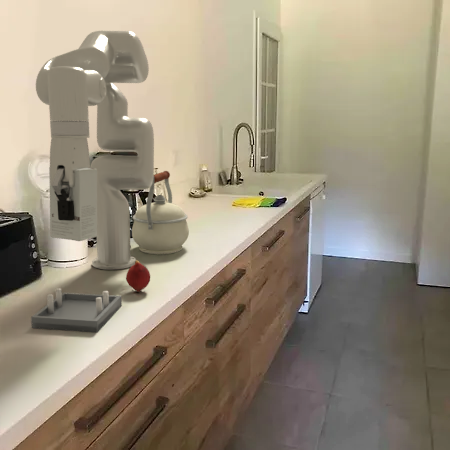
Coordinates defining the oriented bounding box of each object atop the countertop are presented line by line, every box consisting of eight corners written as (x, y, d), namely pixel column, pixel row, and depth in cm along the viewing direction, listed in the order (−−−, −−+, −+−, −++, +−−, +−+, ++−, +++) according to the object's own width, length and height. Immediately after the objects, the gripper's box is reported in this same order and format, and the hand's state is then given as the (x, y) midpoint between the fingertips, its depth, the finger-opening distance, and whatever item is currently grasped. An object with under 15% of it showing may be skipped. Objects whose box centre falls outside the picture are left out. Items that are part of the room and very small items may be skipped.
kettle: (178, 259, 157) (177, 177, 151) (121, 255, 160) (118, 175, 155) (198, 240, 181) (198, 169, 175) (148, 237, 184) (147, 167, 179)
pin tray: (63, 302, 120) (62, 281, 119) (121, 305, 119) (120, 284, 117) (31, 328, 106) (30, 304, 105) (97, 332, 104) (96, 308, 103)
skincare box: (49, 238, 108) (45, 167, 105) (69, 232, 113) (65, 164, 110) (81, 242, 105) (78, 169, 102) (100, 236, 110) (97, 166, 107)
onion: (151, 287, 131) (151, 257, 129) (149, 295, 125) (148, 263, 124) (128, 287, 131) (127, 257, 129) (125, 295, 125) (124, 263, 124)
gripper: (70, 129, 114) (74, 209, 117) (31, 131, 97) (37, 224, 100) (103, 129, 113) (106, 210, 116) (69, 131, 96) (74, 225, 99)
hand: (74, 216), depth 108 cm, fingers closed on skincare box, 7 cm apart
